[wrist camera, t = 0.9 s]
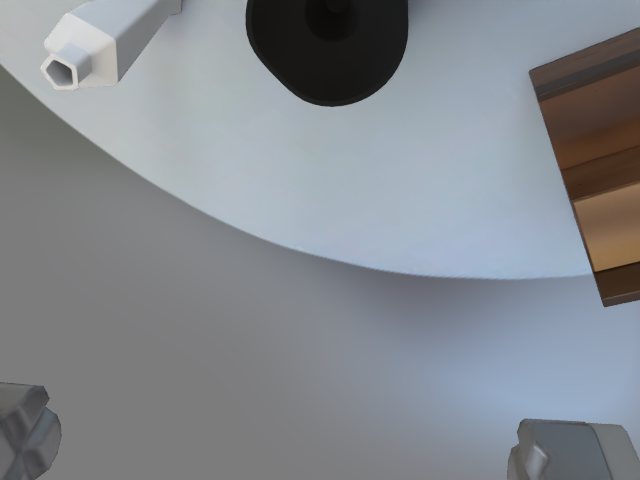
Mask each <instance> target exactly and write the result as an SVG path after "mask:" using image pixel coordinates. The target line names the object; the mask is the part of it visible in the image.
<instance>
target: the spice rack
mask: <svg viewBox="0 0 640 480" xmlns="http://www.w3.org/2000/svg"><path fill="white" fill-rule="evenodd" d="M529 75H530V78H531V81H532V84H533V87H534V91H535V94H536V97H537V100H538V103H539V106H540V109H541V113H542V116H543V119H544V122H545V125H546V128H547V131H548V135H549V138H550V141H551V144H552V147H553V150H554V153H555V157H556V160H557V163H558V166H559V169H560V172H561V175H562V179H563V182H564V185H565V188H566V191H567V194H568V197H569V201H570V204H571V207H572V210H573V213H574V216H575V219H576V223H577V226H578V229H579V232H580V235H581V238H582V241H583V244H584V247H585V250H586V253H587V257H588V260H589V263H590V266H591V269H592V272H593V275H594V278H595V281H596V284H597V287H598V290H599V293H600V297H601V300H602V303H603V306H604V307H608V306H613V305H617V304H622V303H627V302H632V301H636V300H640V28H637V29H635V30H632V31H630V32H627V33H625V34H622V35H620V36H617V37H615V38H612V39H610V40H607V41H604V42H602V43H599V44H597V45H594V46H592V47H589V48H587V49H584V50H582V51H579V52H576V53H574V54H571V55H569V56H566V57H564V58H561V59H559V60H556V61H554V62H551V63H548V64H546V65H543V66H541V67H538V68H536V69H533V70H531V71H529Z"/></svg>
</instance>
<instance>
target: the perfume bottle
mask: <svg viewBox="0 0 640 480" xmlns="http://www.w3.org/2000/svg"><path fill="white" fill-rule="evenodd" d="M181 1H182V0H91V1H89V2H87V3H85V4H83V5H81V6H79V7H77V8H75V9H73V10H71V11H69V12H67V13H65V14H64V16H63V17H62V18H61V20H60V21H59V22H58V24H57V25H56V26H55V28H54V29H53V31H52V32H51V33H50V35H49V36H48V37H47V39H46V40H45V41H44V46H45V48H46V49H47V51H48V52H49V54H50V55H49V56H48V57H47V59H46V60H45V61H44V63H43V64H42V65H41V71H42V73H43V74H44V75H45V77H46V78H47V79H48V81H49V82H50V83H51V85H52V86H53V87H54V88H55V89H56V90H59V91H63V90H77V89H78V87H98V86H115V85H117V84H118V82H119V81H120V80H121V78H122V77H123V76H124V75H125V73H126V72H127V71H128V69H129V68H130V67H131V65H132V64H133V63H134V61H135V60H136V59H137V57H138V56H139V55H140V53H141V52H142V51H143V49H144V48H145V47H146V45H147V44H148V43H149V41H150V40H151V39H152V37H153V36H154V35H155V33H156V32H157V31H158V29H159V28H160V27H161V25H162V24H163V23H164V21H165V20H166V19H167V18H168V16H170V15H174V14H179V13H180V12H181Z"/></svg>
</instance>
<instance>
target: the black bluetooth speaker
mask: <svg viewBox="0 0 640 480" xmlns="http://www.w3.org/2000/svg"><path fill="white" fill-rule="evenodd" d="M246 30H247V36H248V39H249V42H250V45H251V47H252V49H253V50H254V52H255V54H256V55H257V57H258V58H259V59H260V61H261V62H262V63H263V64H264V65H265V66H266V67H267V69H268V70H269V71H270V72H271V73H272V74H273V75H274V76H275V77H276V78H277V79H278V80H279V81H280V82H281V83H282V84H283V85H284V86H285V87H286V88H287V89H288V90H290V91H291V92H292V93H293V94H295V95H296V96H298V97H299V98H301V99H302V100H304V101H306V102H309V103H312V104H315V105H320V106H329V107H334V106H344V105H348V104H352V103H355V102H358V101H361V100H363V99H365V98H367V97H369V96H371V95H372V94H374V93H375V92H377V91H378V90H379V89H380V88H381V87H383V86H384V85H385V84H386V83H387V82H388V80H389V79H390V78H391V77H392V76H393V74H394V73H395V71H396V70H397V68H398V66H399V64H400V62H401V60H402V58H403V55H404V52H405V49H406V44H407V39H408V0H248V2H247V8H246Z"/></svg>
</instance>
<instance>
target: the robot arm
mask: <svg viewBox="0 0 640 480" xmlns="http://www.w3.org/2000/svg"><path fill="white" fill-rule="evenodd" d="M48 401H49V396H48V394H47V392H46V390H45V388H44V386H37V385H27V384H26V385H25V384H16V383H5V382H0V480H35V479H36V478H38V477H39V476H41V475H42V474H43V473H45V472H46V471H47V470H49V469H50V467H51V465H52V463H53V461H54V459H55V457H56V455H57V453H58V449H59V445H60V440H61V424H60V422H59V419H58V416H57V415H56V414H55V413H54V412H52V411H51V410H50V409H48V408H47V407H46V404H47V402H48ZM517 434H518V439H519V444H518V445H517V446H515V447H513V448H512V449H511V452H510V456H509V459H508V470H507V480H640V461H639V458H638V456H637V454H636V451H635V449H634V447H633V445H632V442H631V440H630V437H629V435H628V433H627V431H626V430H625V429H624V428H623V427H622V426H621V425H614V424H597V423H596V424H595V423H585V422H579V421H560V420H541V419H523V420H522V421H521V422H520V425H519V428H518V430H517Z"/></svg>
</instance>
